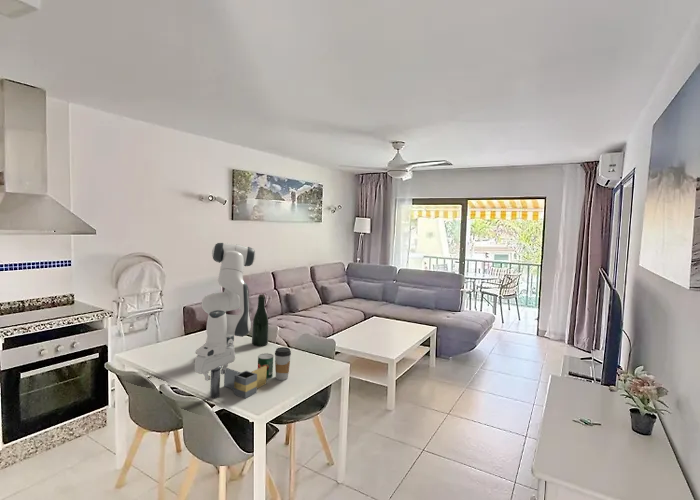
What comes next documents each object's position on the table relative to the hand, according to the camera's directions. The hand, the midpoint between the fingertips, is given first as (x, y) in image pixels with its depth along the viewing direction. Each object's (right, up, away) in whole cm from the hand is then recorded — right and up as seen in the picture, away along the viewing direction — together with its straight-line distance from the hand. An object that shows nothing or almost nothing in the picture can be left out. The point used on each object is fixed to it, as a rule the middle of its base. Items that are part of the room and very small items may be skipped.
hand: (215, 376), depth 172 cm
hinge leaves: (+10, -9, +12) cm, 18 cm away
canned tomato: (+17, -9, +25) cm, 32 cm away
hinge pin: (0, -9, +1) cm, 9 cm away
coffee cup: (+26, -9, +25) cm, 37 cm away
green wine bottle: (+2, -4, +76) cm, 76 cm away
